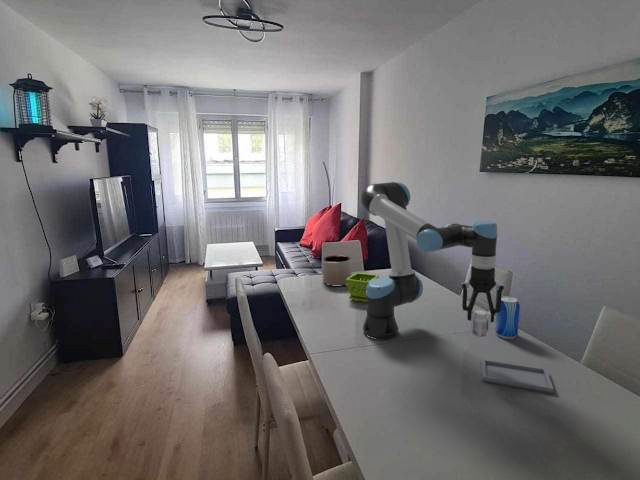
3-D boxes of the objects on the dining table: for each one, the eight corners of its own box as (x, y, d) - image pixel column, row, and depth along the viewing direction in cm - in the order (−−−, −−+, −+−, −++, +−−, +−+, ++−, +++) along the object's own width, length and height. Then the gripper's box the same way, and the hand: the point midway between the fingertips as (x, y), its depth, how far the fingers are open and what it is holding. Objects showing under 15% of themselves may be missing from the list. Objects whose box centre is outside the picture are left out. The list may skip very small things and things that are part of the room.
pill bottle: (485, 332, 130) (487, 310, 128) (487, 338, 125) (489, 315, 124) (471, 330, 131) (472, 309, 129) (472, 336, 127) (474, 314, 125)
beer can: (520, 340, 144) (523, 303, 141) (497, 339, 146) (500, 302, 143) (513, 331, 152) (516, 295, 149) (492, 330, 154) (494, 295, 151)
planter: (321, 287, 218) (320, 262, 214) (325, 278, 235) (324, 254, 232) (350, 287, 215) (349, 262, 211) (352, 278, 232) (352, 255, 229)
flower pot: (379, 297, 198) (379, 275, 195) (369, 305, 186) (368, 282, 184) (357, 293, 205) (356, 271, 202) (345, 301, 194) (344, 278, 191)
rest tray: (482, 381, 119) (482, 376, 118) (481, 363, 129) (481, 358, 129) (553, 394, 111) (553, 388, 111) (545, 373, 122) (546, 368, 121)
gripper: (456, 268, 122) (454, 331, 127) (514, 270, 117) (509, 336, 122) (454, 262, 129) (452, 322, 134) (509, 264, 124) (505, 326, 129)
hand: (479, 329), depth 128 cm, fingers closed on pill bottle, 5 cm apart
